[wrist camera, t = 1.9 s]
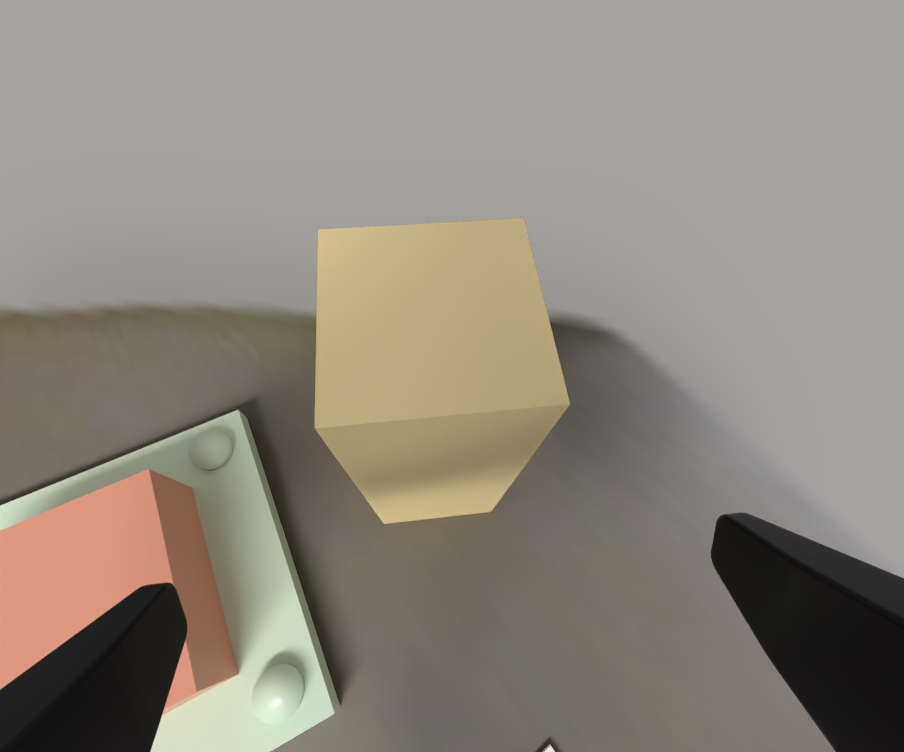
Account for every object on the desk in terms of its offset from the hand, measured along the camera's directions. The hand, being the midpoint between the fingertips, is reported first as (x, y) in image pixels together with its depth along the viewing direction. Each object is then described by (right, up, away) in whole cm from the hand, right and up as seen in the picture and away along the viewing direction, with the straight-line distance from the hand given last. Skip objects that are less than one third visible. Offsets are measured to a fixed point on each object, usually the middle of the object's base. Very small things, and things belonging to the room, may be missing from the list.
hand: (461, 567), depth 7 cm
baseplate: (-12, -6, +9) cm, 16 cm away
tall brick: (-1, -1, +12) cm, 12 cm away
